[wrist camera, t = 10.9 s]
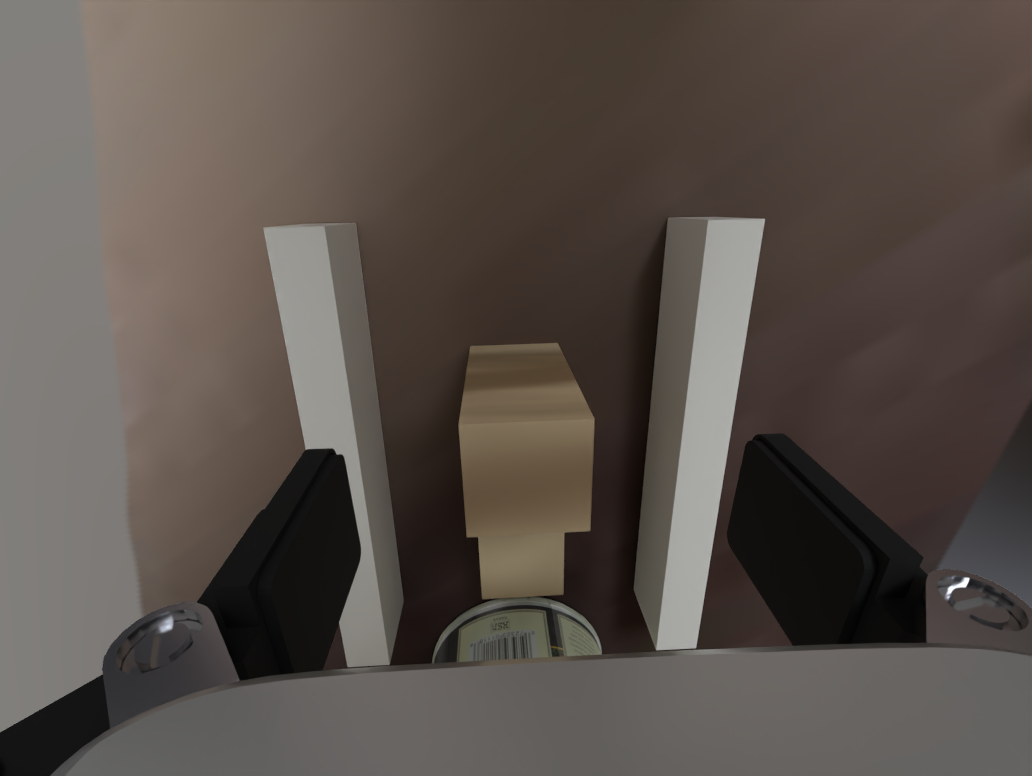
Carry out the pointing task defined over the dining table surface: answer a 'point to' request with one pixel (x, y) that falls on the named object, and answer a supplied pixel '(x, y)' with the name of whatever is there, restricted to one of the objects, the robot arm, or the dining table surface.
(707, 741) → the robot arm
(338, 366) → the white rectangular posts
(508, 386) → the wooden rectangular block
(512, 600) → the coffee can
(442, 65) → the dining table surface
